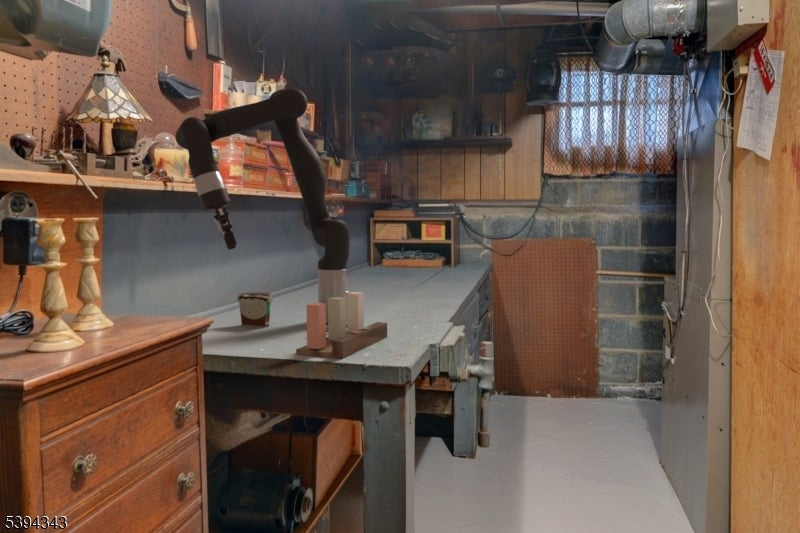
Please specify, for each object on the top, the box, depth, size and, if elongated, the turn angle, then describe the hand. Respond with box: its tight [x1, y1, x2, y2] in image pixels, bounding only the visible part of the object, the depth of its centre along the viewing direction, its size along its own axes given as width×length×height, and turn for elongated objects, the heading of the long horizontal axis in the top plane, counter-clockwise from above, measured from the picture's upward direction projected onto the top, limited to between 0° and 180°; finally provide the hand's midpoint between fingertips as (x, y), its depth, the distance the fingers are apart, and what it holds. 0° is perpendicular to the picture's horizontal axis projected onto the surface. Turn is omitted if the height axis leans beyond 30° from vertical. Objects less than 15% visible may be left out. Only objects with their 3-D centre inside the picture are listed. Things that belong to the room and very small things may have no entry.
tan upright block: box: [346, 291, 365, 332], centre depth 171 cm, size 4×4×11 cm
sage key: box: [327, 297, 347, 340], centre depth 161 cm, size 4×4×11 cm
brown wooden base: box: [295, 321, 388, 359], centre depth 161 cm, size 13×27×4 cm, turn 158°
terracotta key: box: [306, 302, 327, 349], centre depth 151 cm, size 4×4×11 cm
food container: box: [236, 291, 274, 328], centre depth 190 cm, size 12×6×10 cm, turn 65°
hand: (232, 247), depth 164 cm, fingers open, 8 cm apart
